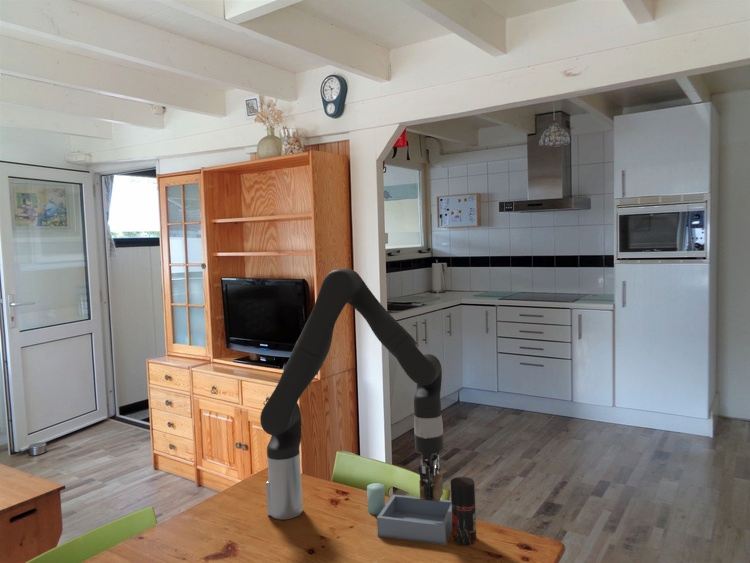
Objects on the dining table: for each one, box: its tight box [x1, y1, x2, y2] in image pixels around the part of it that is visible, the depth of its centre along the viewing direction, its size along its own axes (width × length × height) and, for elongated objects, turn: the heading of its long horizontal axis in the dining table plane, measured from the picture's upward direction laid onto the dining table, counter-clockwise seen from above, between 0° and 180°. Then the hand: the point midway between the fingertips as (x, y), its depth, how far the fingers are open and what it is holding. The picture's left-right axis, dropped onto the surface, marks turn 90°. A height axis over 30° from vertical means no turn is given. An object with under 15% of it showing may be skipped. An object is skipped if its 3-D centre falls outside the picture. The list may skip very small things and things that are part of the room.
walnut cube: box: [419, 474, 444, 502], centre depth 145 cm, size 5×5×5 cm
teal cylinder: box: [366, 482, 386, 516], centre depth 158 cm, size 5×5×7 cm
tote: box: [376, 494, 453, 546], centre depth 147 cm, size 18×14×5 cm
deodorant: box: [450, 476, 477, 547], centre depth 140 cm, size 6×6×15 cm
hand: (431, 494), depth 146 cm, fingers closed on walnut cube, 5 cm apart
